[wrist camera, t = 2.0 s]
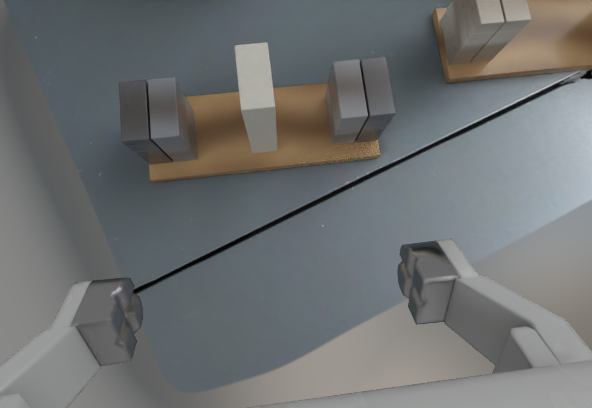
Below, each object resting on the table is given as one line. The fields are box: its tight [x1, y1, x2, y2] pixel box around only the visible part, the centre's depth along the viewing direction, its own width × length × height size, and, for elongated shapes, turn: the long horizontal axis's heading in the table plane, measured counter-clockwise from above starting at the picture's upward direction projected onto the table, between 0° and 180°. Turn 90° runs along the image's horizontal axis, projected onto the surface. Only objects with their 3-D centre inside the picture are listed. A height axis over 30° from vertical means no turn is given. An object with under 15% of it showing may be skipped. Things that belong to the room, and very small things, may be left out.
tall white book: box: [235, 43, 278, 153], centre depth 32 cm, size 5×2×10 cm, turn 7°
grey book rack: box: [119, 57, 396, 183], centre depth 34 cm, size 8×22×8 cm, turn 97°
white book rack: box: [432, 0, 592, 83], centre depth 37 cm, size 8×22×8 cm, turn 97°
